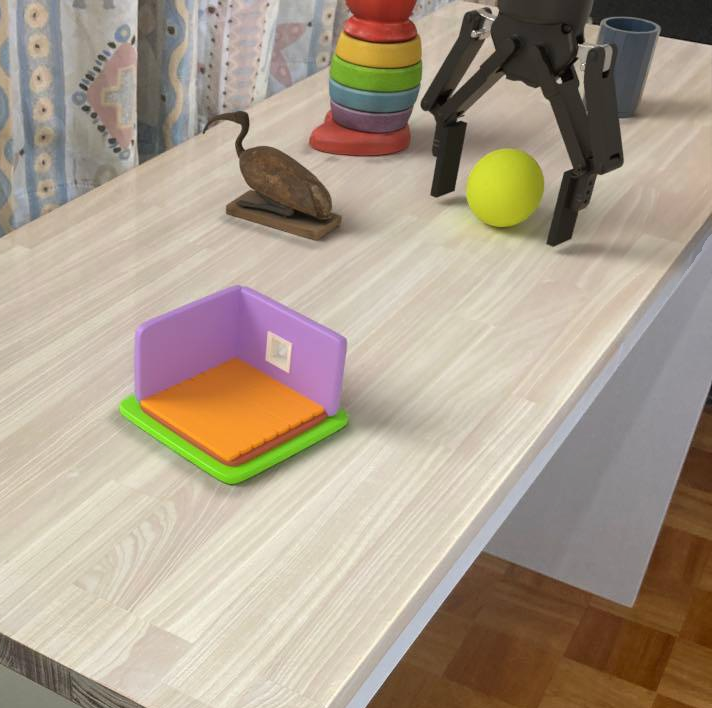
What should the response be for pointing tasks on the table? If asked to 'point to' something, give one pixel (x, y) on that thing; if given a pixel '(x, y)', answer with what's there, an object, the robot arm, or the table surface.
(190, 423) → the miniature room corner
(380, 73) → the stacking bear
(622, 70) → the cup
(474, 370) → the table surface
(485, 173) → the tennis ball
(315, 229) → the figurine
